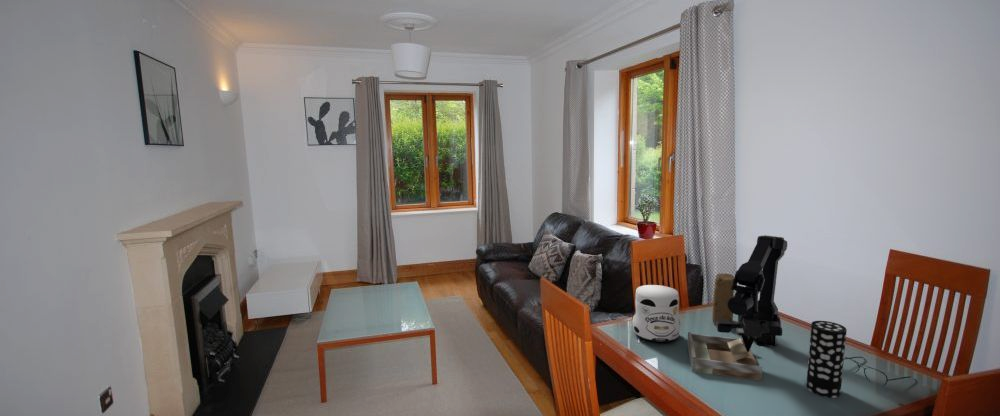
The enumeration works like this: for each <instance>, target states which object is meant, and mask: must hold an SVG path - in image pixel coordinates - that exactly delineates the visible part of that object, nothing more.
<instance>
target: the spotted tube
mask: <svg viewBox="0 0 1000 416" xmlns="http://www.w3.org/2000/svg"><path fill="white" fill-rule="evenodd" d="M810 326H811V327H810V337H809V338H810V339H809V348H808V361H807V373H806V383H805V384H806V385H805V386H806V390H809V391H810V392H811V393H813V394H815V395H818V396H820V397H824V398H830V399H831V398H832V399H834V398H839V397H840V396H841V391H842V383H843V373H844V372H843V370H844V362H845V361H844V360H845V359H844V358H845V350H846V341H847V339H846V338H847V327H846V326H844V325H842V324H839V323H836V322H834V321H833V322H832V321H827V320H814V321H812V322H811V324H810Z"/></svg>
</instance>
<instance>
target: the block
mask: <svg viewBox="0 0 1000 416" xmlns="http://www.w3.org/2000/svg"><path fill="white" fill-rule="evenodd" d="M734 277H735V276H734V274H731V273H717V274H716V275H715V280H714V290H713V298H712V317H711V318H712V323H713V324H715V325H716V320H717V319H729V321H730V323H734V321H733V318H734V314H733V313H732V312H731V311H730V310H729V308H728V301H729V300H730V299H731V298H732V297H733V296H735V290H731V288H732V284H733V281H734Z"/></svg>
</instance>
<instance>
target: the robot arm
mask: <svg viewBox="0 0 1000 416" xmlns="http://www.w3.org/2000/svg"><path fill="white" fill-rule="evenodd" d="M787 249H788V240H785V237H781V236H775V235H774V236H773V235H758V236H757V239H756V244H755V247H754V248H753V250H752V253H751V254H750V256H749V259H748V260H747V261H746V262H744V263H742V264H741V265H740V266H739V267H738V269H737V270H736V271H735V274H734V276H733V277H734V281H733V284H732V288H731V290H734V291H735V292H734V296H733V297H732V298H731V299H730V300H729V301H728V308H729V310H730V311H731V312H732V313H733V315H735V316H737V322H732V323H730V321H729V319H717V320H716V324H715V328H716V330H717V332H718V333H724V334H725V333H727V334H729V333H730V332H732V329H733V330H735V332H736V335H737V336H740V338H741V339H743V342H744V345H745V347H746V350H747V352H749V350H751V348H752V346H753V344H754V342H755V344H756V345H758V346H765V347H766V346H768V347H777V344H776V341H777V340H776V339H777V338H776V337H777V336H778V337H781V336H783V328H782V321H781V318H780V315H779V308H778V307H777V304H776V303H775V294H776V292H775V291H776V286H777V285H776V283H777V276H778V275H777V273H778V268H779V267H778V266H779V261H781V259H782V258H783V257H784V256H785V253H786V251H787Z"/></svg>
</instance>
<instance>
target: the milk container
mask: <svg viewBox="0 0 1000 416" xmlns="http://www.w3.org/2000/svg"><path fill="white" fill-rule="evenodd" d="M679 295H680V294H679V292H678V290H677V289H675V288H672V287H669V286H665V285H661V284H660V285H657V284H646V285H641V286H638V287H637V288H636V290H635V300H634V301H635V308H634V313H633V316H632V330H633V332H634V334H636V335H637V336H638V338H641V339H643V340H646V341H650V342H656V343H667V342H672V341H674V340H676V339H677V338H678V337H679V335H680V332H681V321H680V318H679V307H680V306H679V305H680V303H679V302H680V297H679Z"/></svg>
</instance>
